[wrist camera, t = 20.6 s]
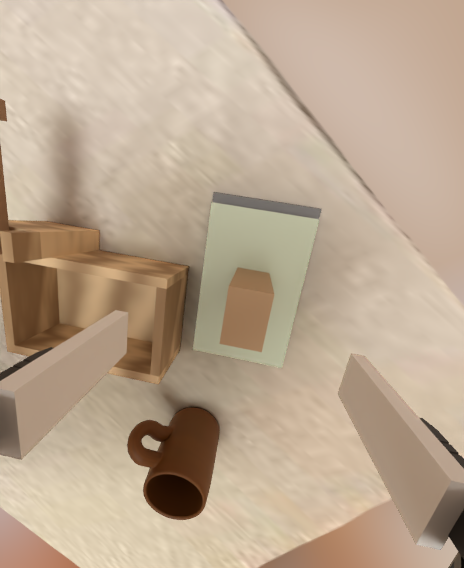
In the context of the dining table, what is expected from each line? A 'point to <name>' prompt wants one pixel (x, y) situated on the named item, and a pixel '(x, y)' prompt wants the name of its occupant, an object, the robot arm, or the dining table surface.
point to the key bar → (2, 183)
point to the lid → (252, 282)
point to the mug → (177, 462)
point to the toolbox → (88, 295)
